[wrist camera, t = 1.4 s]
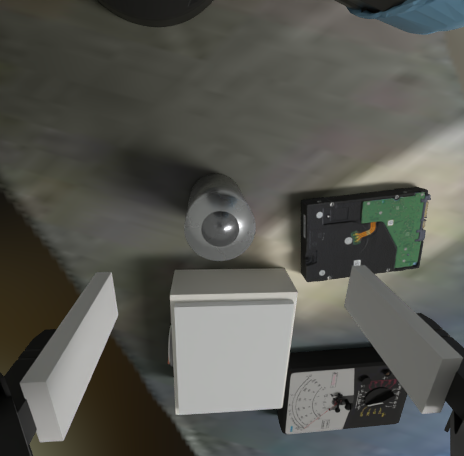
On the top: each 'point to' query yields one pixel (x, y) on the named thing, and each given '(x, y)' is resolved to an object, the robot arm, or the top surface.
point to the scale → (230, 338)
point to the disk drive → (362, 232)
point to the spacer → (218, 219)
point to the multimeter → (339, 391)
